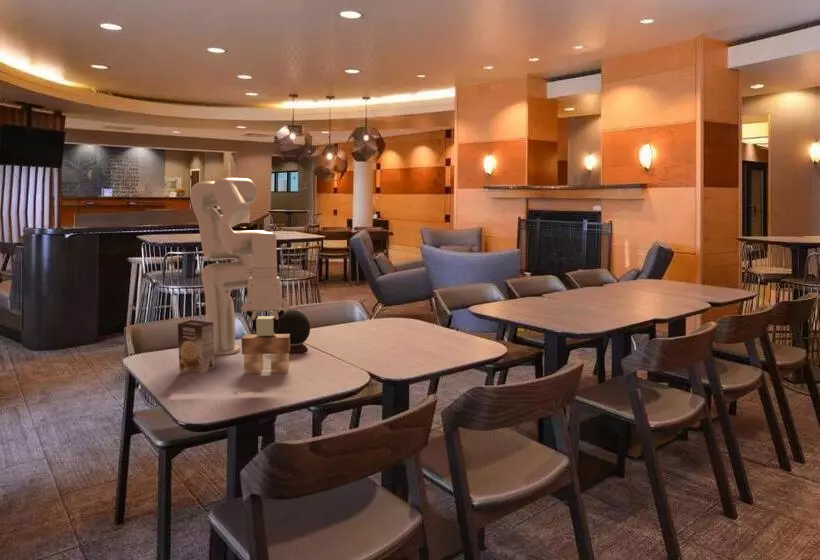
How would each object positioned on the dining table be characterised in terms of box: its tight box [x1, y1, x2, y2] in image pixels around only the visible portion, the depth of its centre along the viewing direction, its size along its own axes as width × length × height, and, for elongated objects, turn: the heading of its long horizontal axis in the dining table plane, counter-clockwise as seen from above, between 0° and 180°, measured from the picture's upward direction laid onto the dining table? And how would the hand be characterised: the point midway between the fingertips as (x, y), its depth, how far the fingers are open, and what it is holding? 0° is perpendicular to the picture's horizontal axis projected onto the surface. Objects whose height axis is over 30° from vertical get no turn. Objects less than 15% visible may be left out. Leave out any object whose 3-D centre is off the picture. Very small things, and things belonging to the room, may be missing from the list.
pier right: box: [270, 353, 290, 374], centre depth 188 cm, size 5×5×6 cm
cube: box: [256, 315, 275, 336], centre depth 186 cm, size 5×5×5 cm
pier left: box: [243, 354, 264, 374], centre depth 187 cm, size 5×5×6 cm
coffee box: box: [177, 319, 216, 375], centre depth 189 cm, size 9×6×16 cm
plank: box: [241, 333, 290, 355], centre depth 187 cm, size 14×5×5 cm, turn 95°
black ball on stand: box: [274, 309, 311, 355], centre depth 216 cm, size 13×13×15 cm
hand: (266, 330), depth 186 cm, fingers closed on cube, 5 cm apart
